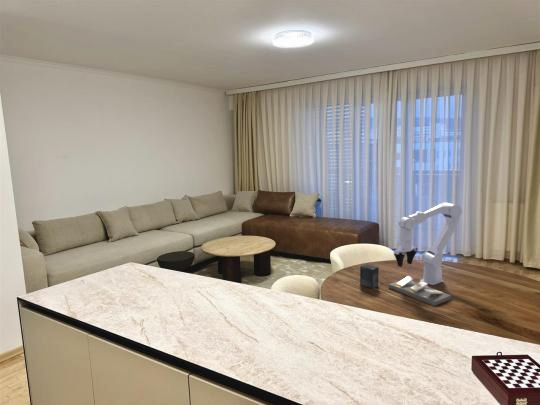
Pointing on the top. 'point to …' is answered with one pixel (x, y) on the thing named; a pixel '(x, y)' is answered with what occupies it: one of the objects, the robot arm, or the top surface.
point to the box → (369, 275)
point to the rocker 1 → (405, 281)
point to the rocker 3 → (433, 291)
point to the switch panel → (421, 293)
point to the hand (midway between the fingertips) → (404, 265)
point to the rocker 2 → (418, 286)
